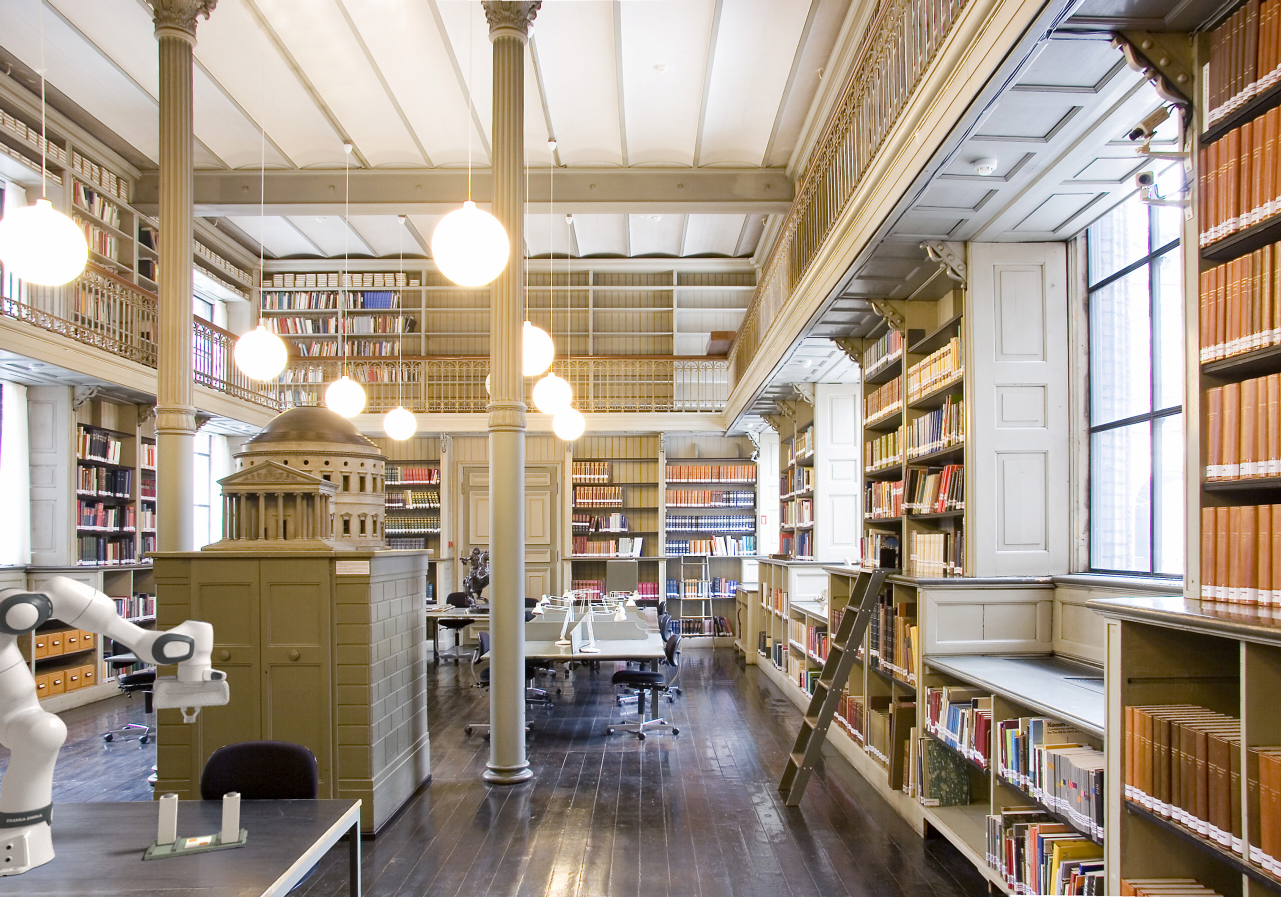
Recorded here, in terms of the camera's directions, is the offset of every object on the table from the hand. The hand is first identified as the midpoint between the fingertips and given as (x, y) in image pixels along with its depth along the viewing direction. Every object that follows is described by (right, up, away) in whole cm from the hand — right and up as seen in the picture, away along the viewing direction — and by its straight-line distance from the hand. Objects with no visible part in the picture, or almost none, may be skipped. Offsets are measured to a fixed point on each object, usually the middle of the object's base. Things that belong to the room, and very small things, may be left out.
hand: (189, 722), depth 249 cm
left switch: (+4, -26, -20) cm, 33 cm away
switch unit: (+13, -28, -20) cm, 36 cm away
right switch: (+21, -26, -19) cm, 39 cm away
